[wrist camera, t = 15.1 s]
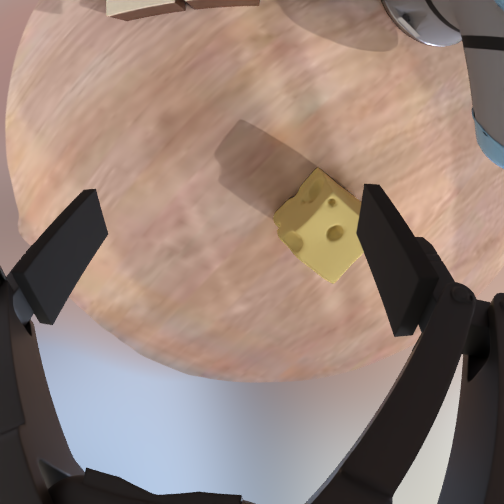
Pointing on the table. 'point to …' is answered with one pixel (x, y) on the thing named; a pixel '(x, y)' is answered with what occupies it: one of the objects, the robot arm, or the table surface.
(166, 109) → the table surface
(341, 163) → the table surface
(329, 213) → the cheese
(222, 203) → the table surface
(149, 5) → the split beige slab
